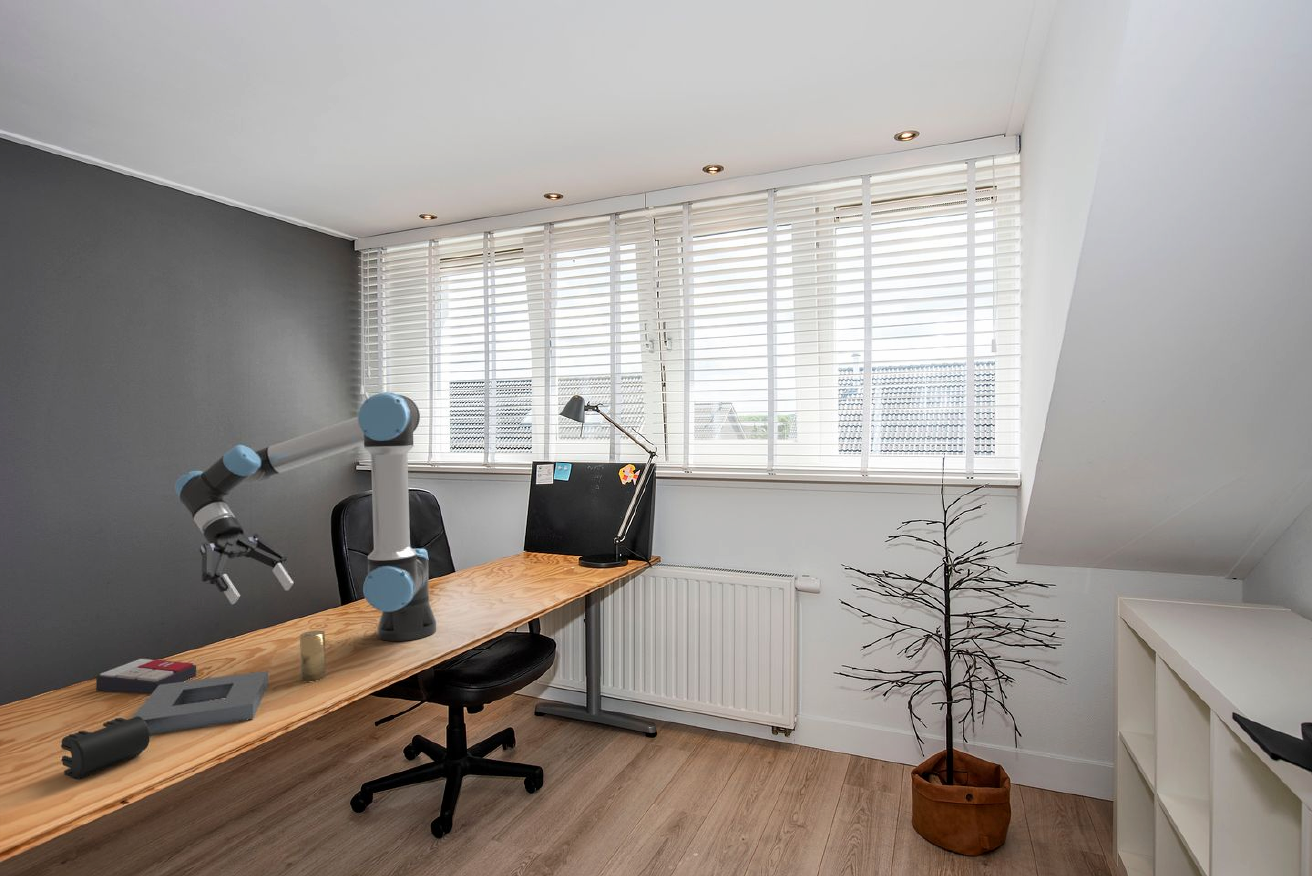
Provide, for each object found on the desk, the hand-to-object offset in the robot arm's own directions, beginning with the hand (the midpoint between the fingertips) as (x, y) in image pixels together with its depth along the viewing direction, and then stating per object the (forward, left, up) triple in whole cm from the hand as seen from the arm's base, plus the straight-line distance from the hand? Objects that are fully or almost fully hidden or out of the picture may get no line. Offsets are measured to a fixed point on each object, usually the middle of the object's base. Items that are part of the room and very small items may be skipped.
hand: (264, 593), depth 161 cm
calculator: (+24, -2, -19) cm, 30 cm away
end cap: (+18, +41, -18) cm, 49 cm away
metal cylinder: (-11, +10, -18) cm, 23 cm away
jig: (+8, +20, -18) cm, 28 cm away
